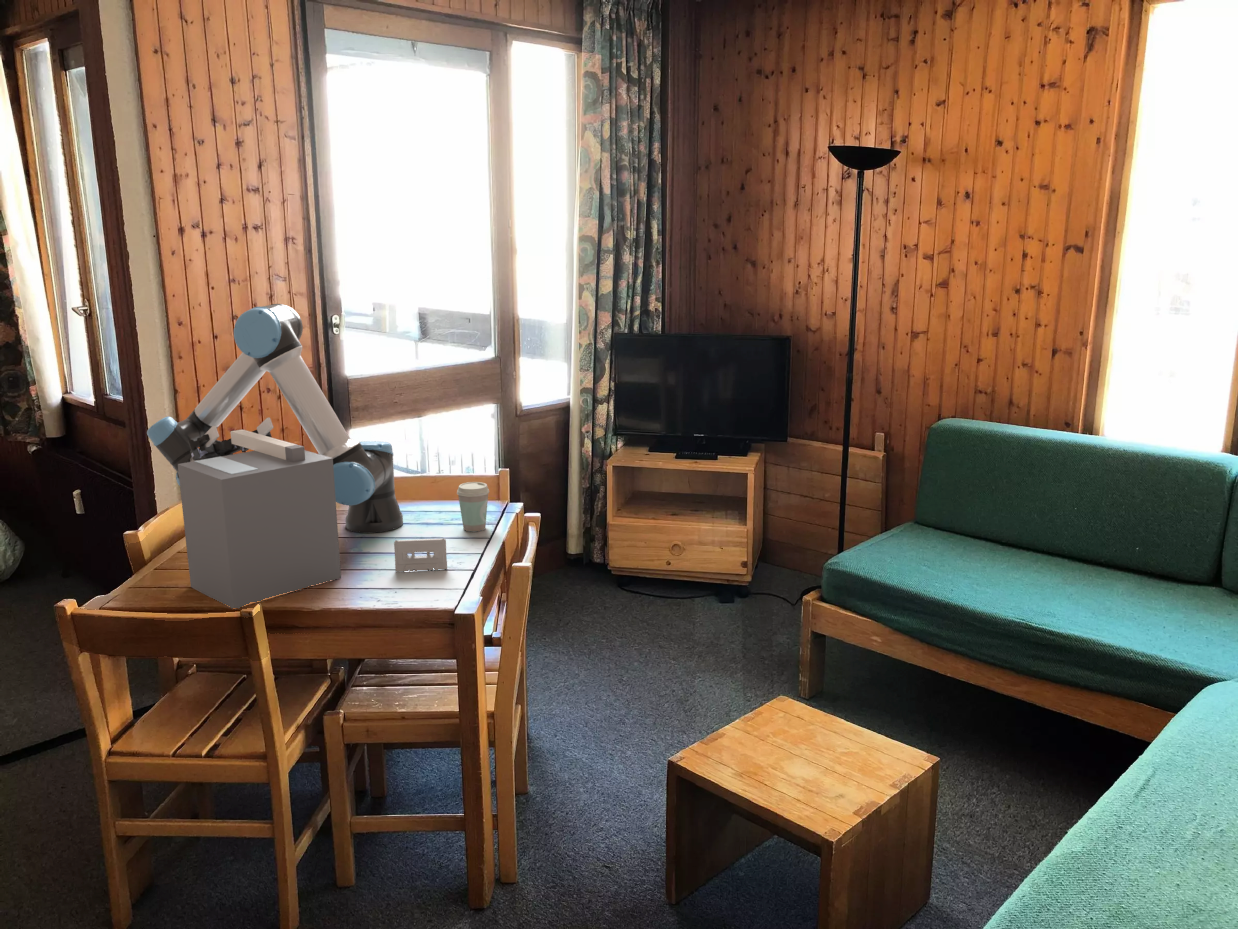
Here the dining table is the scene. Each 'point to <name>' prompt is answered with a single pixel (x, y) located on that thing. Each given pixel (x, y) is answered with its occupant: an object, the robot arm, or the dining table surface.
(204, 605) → the dining table surface
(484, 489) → the coffee cup
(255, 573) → the grey box
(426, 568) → the cassette
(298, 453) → the bar
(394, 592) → the dining table surface
